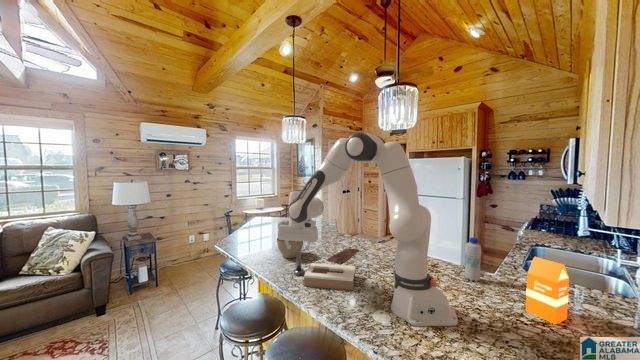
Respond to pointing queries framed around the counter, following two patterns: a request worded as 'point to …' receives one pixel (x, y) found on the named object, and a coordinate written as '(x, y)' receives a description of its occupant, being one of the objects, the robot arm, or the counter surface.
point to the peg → (298, 265)
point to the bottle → (472, 260)
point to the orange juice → (547, 290)
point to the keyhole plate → (330, 276)
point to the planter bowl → (292, 251)
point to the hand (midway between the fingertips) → (298, 249)
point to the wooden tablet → (342, 256)
